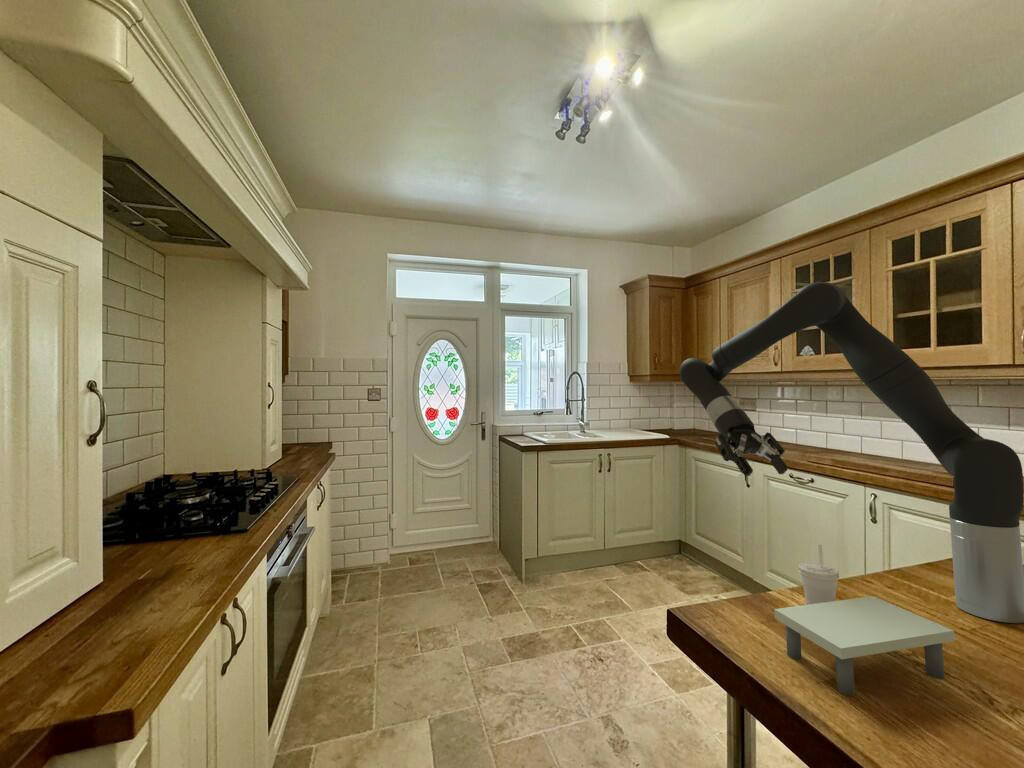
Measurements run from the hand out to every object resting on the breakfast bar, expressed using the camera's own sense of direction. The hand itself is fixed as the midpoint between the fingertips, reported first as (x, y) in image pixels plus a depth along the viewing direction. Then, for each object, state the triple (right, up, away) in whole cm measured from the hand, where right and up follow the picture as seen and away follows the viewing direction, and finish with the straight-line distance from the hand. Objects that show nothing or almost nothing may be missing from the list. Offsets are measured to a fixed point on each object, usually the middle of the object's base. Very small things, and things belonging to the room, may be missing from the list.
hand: (767, 473), depth 95 cm
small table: (-1, -25, -26) cm, 36 cm away
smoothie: (+3, -25, -13) cm, 28 cm away
